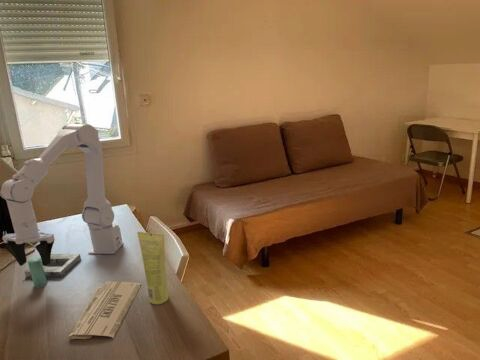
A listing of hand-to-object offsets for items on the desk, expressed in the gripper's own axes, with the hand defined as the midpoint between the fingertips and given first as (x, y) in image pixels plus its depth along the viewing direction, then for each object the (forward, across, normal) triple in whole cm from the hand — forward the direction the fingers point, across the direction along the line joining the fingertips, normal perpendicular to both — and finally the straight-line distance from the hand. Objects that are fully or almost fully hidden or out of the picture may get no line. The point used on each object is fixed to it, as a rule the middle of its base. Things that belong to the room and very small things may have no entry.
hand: (35, 264), depth 104 cm
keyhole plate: (+7, -2, +9) cm, 11 cm away
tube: (+7, +39, -6) cm, 40 cm away
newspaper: (+8, +26, -11) cm, 29 cm away
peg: (+7, 0, 0) cm, 7 cm away
